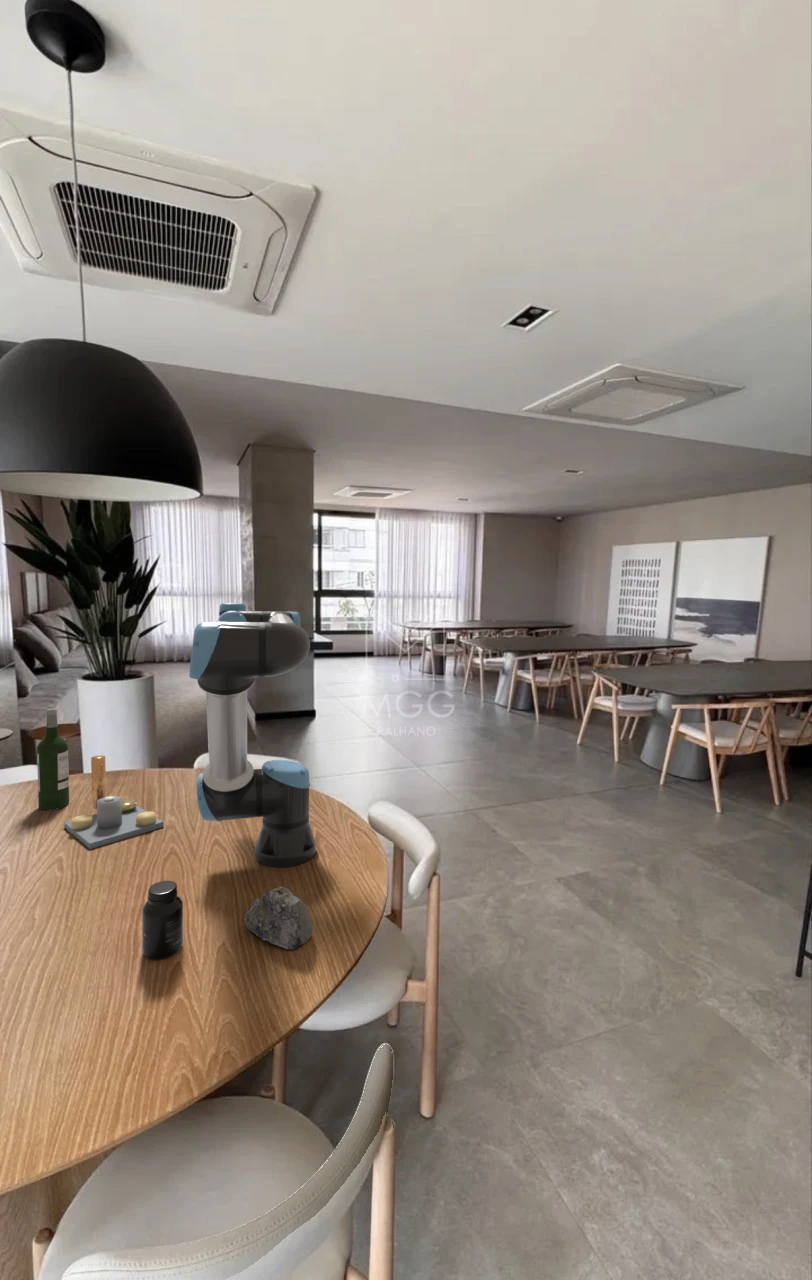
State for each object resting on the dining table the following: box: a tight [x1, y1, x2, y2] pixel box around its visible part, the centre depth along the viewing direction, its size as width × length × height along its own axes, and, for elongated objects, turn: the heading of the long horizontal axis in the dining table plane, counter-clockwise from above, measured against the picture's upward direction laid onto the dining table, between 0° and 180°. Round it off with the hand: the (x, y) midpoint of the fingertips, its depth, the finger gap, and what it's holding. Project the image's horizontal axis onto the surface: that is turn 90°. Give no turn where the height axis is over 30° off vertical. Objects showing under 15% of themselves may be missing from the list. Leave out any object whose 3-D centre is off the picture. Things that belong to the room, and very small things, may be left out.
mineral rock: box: [244, 886, 313, 951], centre depth 105 cm, size 13×11×10 cm
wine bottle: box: [36, 708, 70, 810], centre depth 166 cm, size 8×8×30 cm
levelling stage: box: [63, 795, 165, 850], centre depth 152 cm, size 19×19×9 cm
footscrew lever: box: [90, 754, 139, 812], centre depth 160 cm, size 13×5×16 cm, turn 91°
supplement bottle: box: [141, 880, 184, 961], centre depth 100 cm, size 7×7×12 cm
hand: (233, 734), depth 161 cm, fingers closed
